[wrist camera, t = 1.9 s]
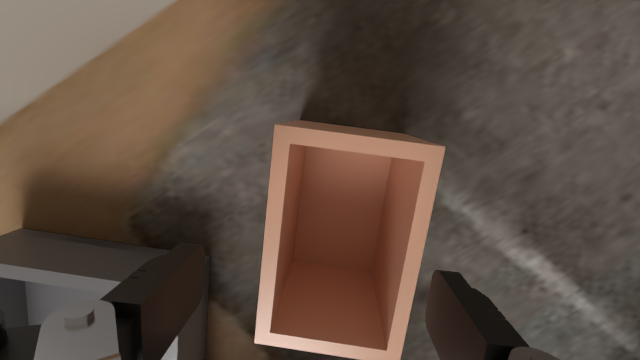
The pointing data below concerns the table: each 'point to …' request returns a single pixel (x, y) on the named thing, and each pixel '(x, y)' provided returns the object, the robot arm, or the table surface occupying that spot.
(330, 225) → the box
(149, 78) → the table surface
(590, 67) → the table surface
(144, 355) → the robot arm
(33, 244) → the big crate
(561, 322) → the table surface
